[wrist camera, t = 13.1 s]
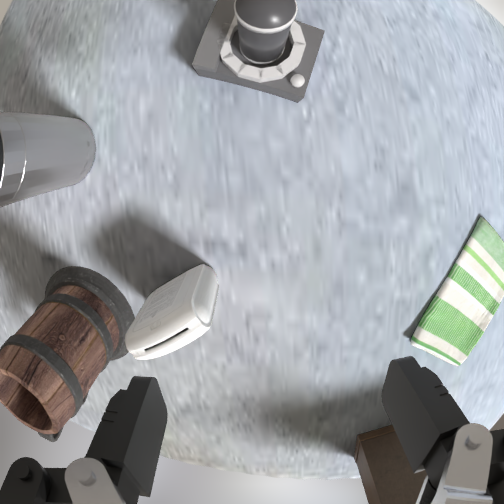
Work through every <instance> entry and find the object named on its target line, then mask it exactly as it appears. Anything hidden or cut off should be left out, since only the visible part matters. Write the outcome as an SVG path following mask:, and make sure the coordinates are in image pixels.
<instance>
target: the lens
mask: <svg viewBox="0 0 504 504" xmlns="http://www.w3.org/2000/svg"><path fill="white" fill-rule="evenodd" d="M234 10H235V16H236V18H237V24H238V32H239V41H240V51H241V53H242V55H243V56H244V57H245V58H246V59H247V60H248V61H250V62H252V63H254V64H258V65H267V64H271V63H273V62H275V61H277V60H278V59H279V58H280V57H281V56H282V54H283V51H284V48H285V44H286V40H287V37H288V34H289V31H290V28H291V25H292V23H293V21H294V19H295V17H296V14H297V3H296V0H235V3H234Z"/></svg>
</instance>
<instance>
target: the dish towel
mask: <svg viewBox="0 0 504 504" xmlns="http://www.w3.org/2000/svg"><path fill="white" fill-rule="evenodd" d="M503 296H504V242H503V240H502V239H501V238H500V237H499V235H498V234H497V232H496V231H495V230H494V229H493V228H492V227H491V225H490V224H489V223H488V222H487V221H486V220H485V219H484V218H482V217H480V218H479V220H478V222H477V224H476V226H475V228H474V230H473V232H472V234H471V236H470V238H469V240H468V242H467V244H466V245H465V247H464V248H463V250H462V252H461V254H460V255H459V257H458V259H457V260H456V262H455V264H454V265H453V267H452V269H451V271H450V273H449V275H448V277H447V278H446V280H445V281H444V283H443V284H442V286H441V287H440V289H439V291H438V292H437V294H436V295H435V297H434V298H433V300H432V301H431V303H430V305H429V307H428V308H427V310H426V311H425V313H424V315H423V316H422V318H421V320H420V322H419V324H418V326H417V328H416V330H415V332H414V334H413V335H412V338H411V345H413V346H415V347H417V348H420V349H422V350H424V351H426V352H428V353H430V354H432V355H434V356H436V357H438V358H440V359H442V360H444V361H446V362H448V363H450V364H453V365H455V366H459V365H460V364H461V363H463V362H464V361H465V359H466V358H467V357H468V355H469V354H470V352H471V351H472V349H473V348H474V347H475V345H476V344H477V342H478V341H479V339H480V338H481V336H482V335H483V333H484V331H485V329H486V328H487V326H488V324H489V322H490V320H491V319H492V317H493V316H494V314H495V312H496V311H497V309H498V307H499V305H500V302H501V300H502V298H503Z"/></svg>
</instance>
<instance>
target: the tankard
mask: <svg viewBox="0 0 504 504" xmlns="http://www.w3.org/2000/svg"><path fill="white" fill-rule="evenodd" d="M134 319H135V317H134V314H133V312H132V309H131V307H130V305H129V303H128V302H127V300H126V298H125V297H124V295H123V294H122V293H121V292H120V290H119V289H118V288H117V287H116V286H115V285H114V284H113V283H112V282H111V281H110V280H108V279H107V278H105V277H104V276H102V275H101V274H99V273H97V272H95V271H93V270H91V269H88V268H84V267H75V266H71V267H66V268H63V269H61V270H59V271H57V272H56V273H55V274H54V275H53V276H52V277H51V278H50V280H49V282H48V284H47V287H46V291H45V300H44V301H43V302H42V303H41V304H40V305H39V306H38V307H37V309H36V310H35V313H34V314H33V315H32V316H31V317H30V318H29V319H28V320H27V321H26V322H25V324H24V325H23V326H22V327H21V328H20V329H19V330H18V331H17V332H16V333H15V335H12V336H10V337H9V339H8V340H7V341H6V342H5V343H4V344H3V345H2V347H1V349H0V402H1V403H2V404H3V405H4V406H5V407H6V408H7V409H8V410H9V411H10V412H11V413H12V414H13V415H14V416H15V417H16V418H17V419H18V420H19V421H21V422H22V423H23V424H25V425H26V426H28V427H30V428H31V429H33V430H35V431H37V432H38V434H39V435H40V436H42V437H43V438H45V439H47V440H49V441H51V442H55V441H57V439H58V438H59V436H60V434H61V432H62V429H63V426H64V425H65V423H66V422H67V421H68V420H69V419H70V418H72V417H74V416H75V415H76V414H77V412H78V411H79V409H80V407H81V406H82V405H83V404H84V402H85V400H86V398H87V395H88V391H89V389H90V387H91V386H92V384H93V383H94V381H95V379H96V378H97V376H98V375H99V373H100V372H102V371H103V370H104V369H105V368H106V366H107V365H108V363H109V361H110V360H115V359H119V358H121V357H123V356H124V355H126V354H127V353H128V352H129V351H128V350H127V347H126V343H125V335H126V333H127V331H128V329H129V327H130V326H131V324H132V322H133V321H134Z"/></svg>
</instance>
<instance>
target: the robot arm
mask: <svg viewBox="0 0 504 504" xmlns="http://www.w3.org/2000/svg"><path fill="white" fill-rule="evenodd" d="M95 152H96V145H95V139H94V135H93V133H92V131H91V129H90V127H89V126H88V125H87V124H86V123H85V122H84V121H82V120H80V119H77V118H70V117H62V116H54V115H44V114H33V113H20V112H0V208H1V207H3V206H6V205H9V204H12V203H15V202H18V201H21V200H24V199H27V198H30V197H33V196H37V195H40V194H43V193H47V192H50V191H54V190H57V189H61V188H64V187H68V186H71V185H75V184H77V183H79V182H80V181H81V180H83V179H84V178H85V177H86V175H87V174H88V173H89V171H90V169H91V167H92V165H93V162H94V159H95ZM382 402H383V406H384V408H385V410H386V412H387V414H388V416H389V419H390V421H391V423H392V425H393V427H394V429H395V432H396V434H397V436H398V438H399V441H400V443H401V445H402V447H403V450H404V452H405V454H406V456H407V459H408V461H409V463H410V466H411V468H412V470H413V473H414V474H415V473H418V472H420V471H423V470H425V471H426V473H427V476H426V478H425V480H424V483H423V486H422V488H421V491H420V494H419V496H418V499H417V502H416V504H504V429H501V430H495V431H489V430H488V429H487V428H486V427H484V426H483V425H480V424H476V423H471V424H470V423H469V421H468V420H467V418H466V417H465V415H464V414H463V412H462V411H461V409H460V408H459V406H458V405H457V403H456V402H455V400H454V399H453V398H452V396H451V395H450V394H448V390H447V389H446V388H445V386H443V383H442V382H441V380H440V379H439V378H438V376H437V375H436V374H435V373H433V372H432V371H431V370H429V369H428V368H426V367H422V368H421V367H420V365H419V364H418V363H417V361H416V360H415V358H414V357H412V356H409V357H404V358H399V359H395V360H392V361H391V362H390V364H389V368H388V372H387V375H386V379H385V383H384V386H383V390H382ZM166 424H167V408H166V405H165V402H164V399H163V396H162V393H161V390H160V387H159V384H158V381H157V379H156V378H155V377H139V376H134V377H133V378H132V379H131V382H130V384H129V386H128V389H127V390H121V389H120V390H119V391H118V392H117V393H116V394H115V395H114V396H113V397H112V398H111V399H110V401H109V403H108V406H107V408H106V412H104V415H103V417H102V421H101V422H100V424H99V426H98V428H97V431H96V433H95V435H94V438H93V440H92V442H91V445H90V447H89V450H88V452H87V454H86V456H85V457H84V458H80V459H77V460H75V461H73V462H72V463H71V464H70V465H69V466H68V467H67V468H43V467H42V466H41V465H40V464H39V463H38V462H37V461H36V460H34V459H32V458H28V457H24V458H20V459H18V460H16V461H15V462H14V463H13V464H12V465H11V467H10V469H9V471H8V474H7V476H6V478H5V480H4V483H3V485H2V487H1V490H0V504H137V502H138V497H139V495H140V496H146V497H150V494H151V490H152V485H153V481H154V476H155V471H156V467H157V463H158V458H159V454H160V449H161V445H162V441H163V437H164V432H165V428H166Z"/></svg>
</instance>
